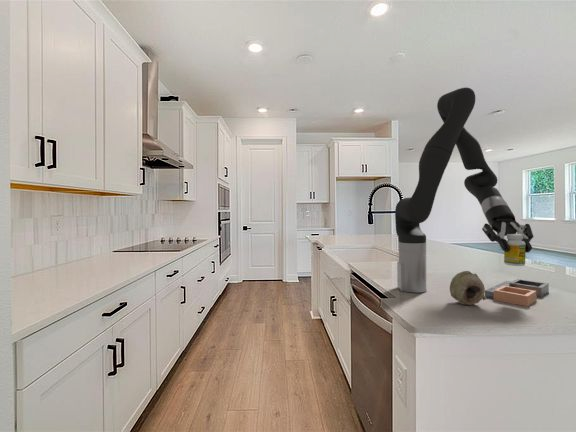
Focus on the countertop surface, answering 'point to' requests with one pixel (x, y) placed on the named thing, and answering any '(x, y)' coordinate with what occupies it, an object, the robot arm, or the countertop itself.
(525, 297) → the marked socket
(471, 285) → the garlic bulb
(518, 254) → the supplement bottle
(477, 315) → the countertop surface
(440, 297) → the countertop surface
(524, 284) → the rail
